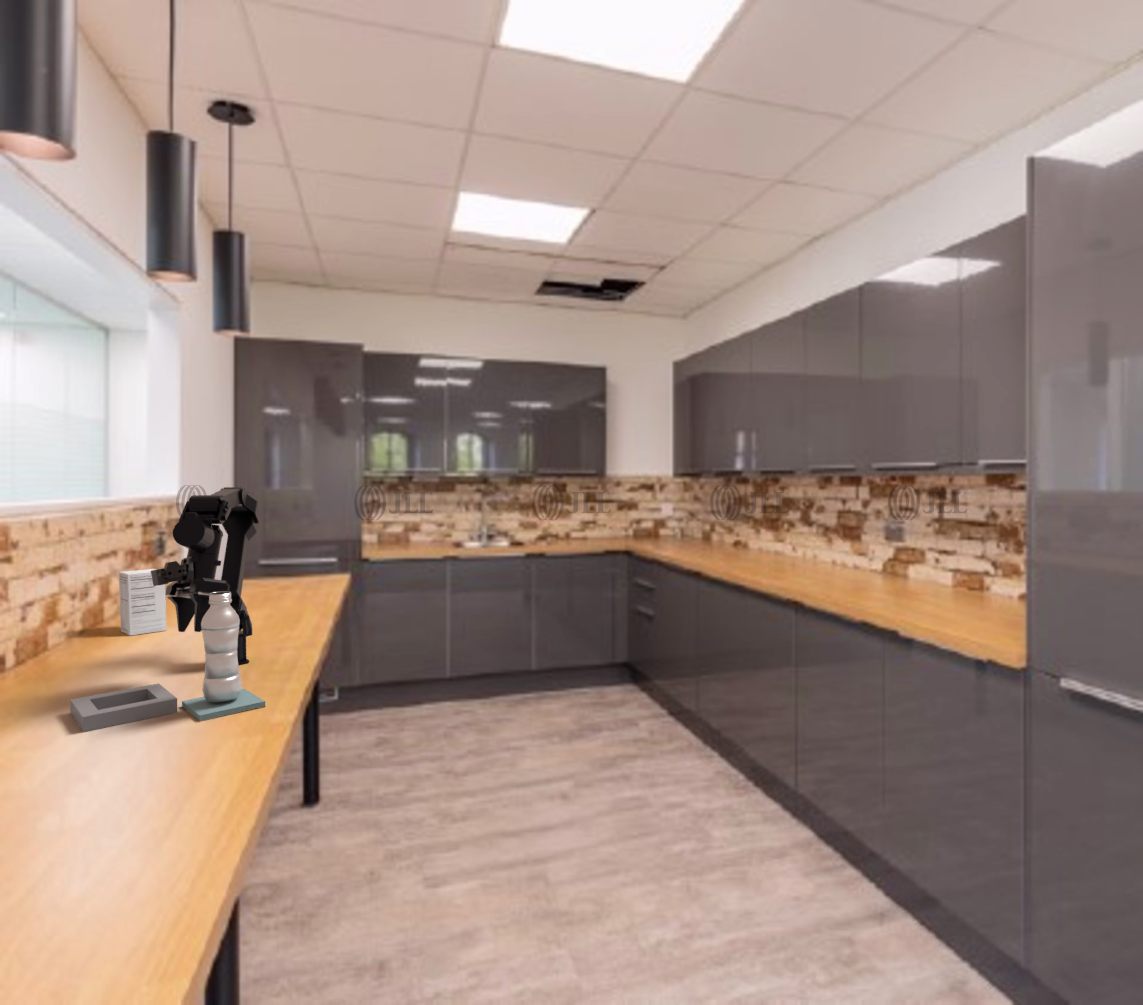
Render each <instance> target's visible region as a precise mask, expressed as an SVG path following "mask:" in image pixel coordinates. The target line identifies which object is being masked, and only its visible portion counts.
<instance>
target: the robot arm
mask: <svg viewBox="0 0 1143 1005" xmlns="http://www.w3.org/2000/svg"><path fill="white" fill-rule="evenodd" d="M261 521H262V512H261V508H260V505H259V502H258V501H257V500H256V499H255V498H253V497H252V496H250V495H249V494H247V489H245V487H241V486H237V487H236V486H235V487H234V486H233V487H231V486H230V487H229V486H227V487H222V488H220V490H219V491H216V492H214V493H211V494H207V495H204V494H203V495H201V494H198V495H197V494H196V495H194V494H193V495H191V496H189V498H188V500H187V501H186V502H185V504H184V507H183V510H182V511H181V514H180V517H179V519H178V522H176V524H175V525H174V527H173V529H172V537H173V539H174V541H175V542H176V543H177V544H178V545H180V546H182V547H184V548H186V549H187V550H188V551H187V554H186V557H183V559H181V561H180V563H179V562H178V561H177V560H174V561H168V562H166V563H165V564H164V566H163V568H159V569H157V568H156V569H157V570H152V571H151V575H152V581H153V586H157V585H158V586H159V585H164V584H165V585H166V587H165V596H167V599H168V600H169V601H170V602H172V604H173V605H174V606H175V612H176V623H177V630H178V632H180V633H185V632H186V630H187V628H188V627H189V625H190V622H192V620H194V622H193V625H194V626H193V628H194V630H193V631H194V632H196V633H202V629H201V622H202V618H203V617H204V615H205V613H206V612H207V611H208V609H209V608H210V604H209V594H210V593H213V592H223V591H227V592H231V599H232V602H231V603H230V606H231V607H232V608H233V609H234V610H235V611H236V613H237V614H238V616H239V619H240V625H239V633H238V646H237V658H238V665H242V664H248V663H250V660H249V659H247V658H248V657H247V637H251V636H253V622H252V621H251V617H250V615H249V612H248V610H247V609H248V607H247V606H246V604H245V602H244V600H243V599H242V591H243V590H242V589H243V584H244V578H245V577H244V575H245V569H246V562H247V555H248V554H247V553H248V546H249V541H250V540H251V539H252V538H253V537H254V536H255V535H256V534H257V532H258V528H259V524H261ZM220 525H222V528H223V529H224V531H225V533H226V534H227V539H226V545H225V551H224V552H225V553H224V558H223V565H222V560H219V558H220V557H219V556H220V551H221V546H222V539H223V537H224V532H223V531H222V529H221V528H220ZM221 565H222V571H221V572H222V573H221V577H220V579H216V574H217V568H218V567H221ZM169 583H170V584H169ZM193 617H194V619H193Z"/></svg>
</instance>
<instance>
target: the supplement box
mask: <svg viewBox="0 0 1143 1005" xmlns="http://www.w3.org/2000/svg"><path fill="white" fill-rule="evenodd" d="M152 570H157V568H149V569H138V570H137V569H136V570H124V571H119V572H118V582H119V584H118V586H119V614H120V615H119V616H120V617H119V618H120V632H122V633H124V634H126V635H128V636H130V637H131V636H139V635H145V634H150V633H151V634H152V633H157V632H165V631H167V606H166V604H167V602H166V601H167V600H166V596H167V595H165V593H166V584H164V585H159V586H158V585H157V586H153V581H152V575H151V571H152Z"/></svg>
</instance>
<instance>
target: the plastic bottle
mask: <svg viewBox="0 0 1143 1005" xmlns="http://www.w3.org/2000/svg"><path fill="white" fill-rule="evenodd" d="M231 602H232V599H231V592H227V591H223V592H213V593H210V594H209V604H210V608H209V609H208V611H207V612H206V613H205V615H204V617H203V618H202V622H201V629H202V631H201V633H202V638H203V642H204V643H203V644H204V652H205V654H204V655H205V660H204V661H205V663H204V677H203V681H202V696H203V697H204V698H205V699H206V700H207V701H208V702H225V701H230V700H233V699H235V698H237V697H238V696H239V694H240V693H241V689H242V686H243V684H242V677H241V673H240V669H239V664H238V658H237V646H238V633H239V625H240V619H239V616H238V614H237V613H236V611H235V610H234V609H233V608H232V607H231V606H230V603H231Z"/></svg>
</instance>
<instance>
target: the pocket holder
mask: <svg viewBox="0 0 1143 1005" xmlns="http://www.w3.org/2000/svg"><path fill="white" fill-rule="evenodd" d="M69 700H70V702H69V703H70V706H69V707H70V714H71V716H72V717H73V719H74V721H75V722H76V723H77V725H78V726H79V728H80V729H81V731H82V732H83V733H84V732H90V731H95V730H100V729H103V728H108V727H109V728H110V727H114V726H117V725H118V726H119V725H123V724H127V723H131V722H132V723H133V722H137V721H142V720H146V719H147V720H148V719H152V718H157V717H160V716H165V715H170V714H175V712H176V713H178V698H177V697H176V696H175V695H174V694H172V693H171V692H170V691H169V690H167V688H165V687H164V686H163V685H162V684H160V683H159V682H158V683H154V684H148V685H141V686H136V687H132V688H125V689H120V690H116V691H114V690H113V691H109V692H104V693H99V694H95V695H94V694H93V695H89V696H82V697H76V698H72V699H69Z"/></svg>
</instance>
